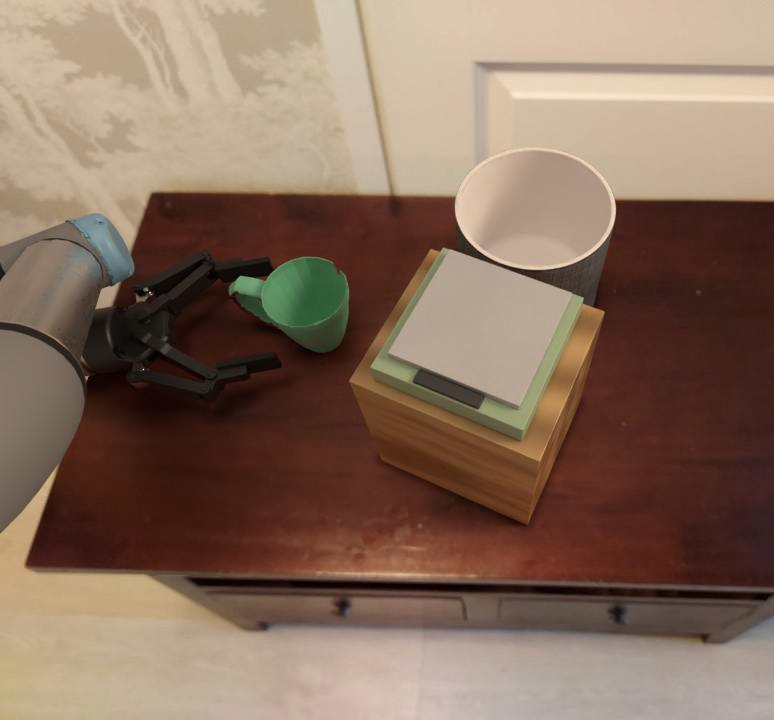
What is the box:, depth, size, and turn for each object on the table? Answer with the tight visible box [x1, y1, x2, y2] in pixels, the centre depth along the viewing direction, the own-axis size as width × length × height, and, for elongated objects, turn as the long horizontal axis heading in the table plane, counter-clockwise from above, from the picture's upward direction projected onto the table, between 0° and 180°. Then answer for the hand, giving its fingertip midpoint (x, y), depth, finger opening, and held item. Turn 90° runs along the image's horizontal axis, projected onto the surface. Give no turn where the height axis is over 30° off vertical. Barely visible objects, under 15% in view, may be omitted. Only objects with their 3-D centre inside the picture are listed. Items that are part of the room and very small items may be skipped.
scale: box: [370, 247, 584, 441], centre depth 57 cm, size 14×14×3 cm
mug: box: [228, 256, 350, 354], centre depth 79 cm, size 15×10×10 cm
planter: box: [454, 146, 617, 308], centre depth 79 cm, size 18×18×16 cm
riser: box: [348, 248, 606, 526], centre depth 67 cm, size 16×18×20 cm
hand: (275, 310), depth 78 cm, fingers open, 13 cm apart
